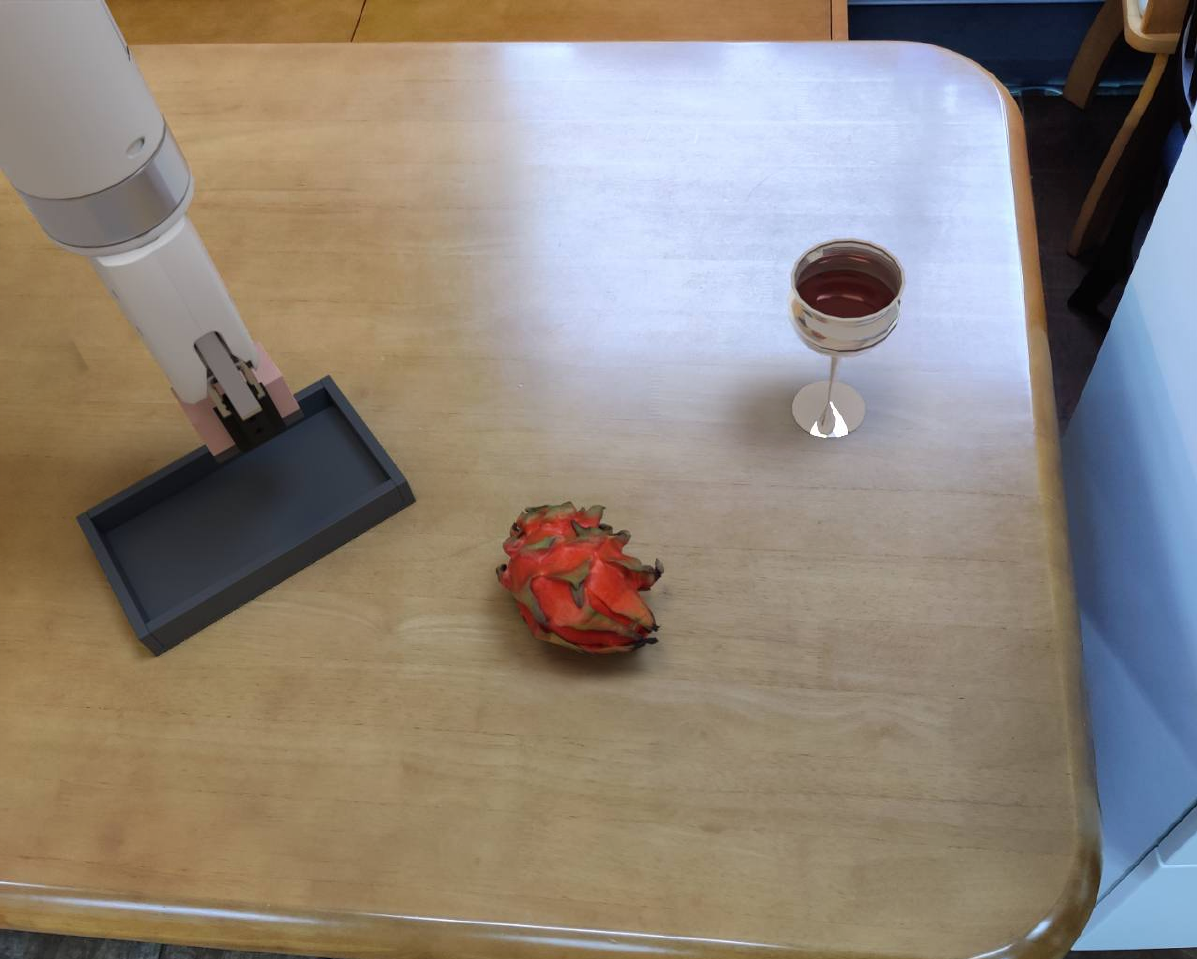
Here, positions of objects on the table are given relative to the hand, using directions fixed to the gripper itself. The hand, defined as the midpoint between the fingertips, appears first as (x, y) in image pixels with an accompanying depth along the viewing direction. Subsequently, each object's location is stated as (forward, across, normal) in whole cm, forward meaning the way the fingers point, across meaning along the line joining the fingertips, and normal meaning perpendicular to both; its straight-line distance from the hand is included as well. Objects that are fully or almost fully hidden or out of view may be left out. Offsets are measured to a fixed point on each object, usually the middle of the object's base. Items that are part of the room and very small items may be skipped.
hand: (247, 415), depth 66 cm
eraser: (+1, 0, 0) cm, 1 cm away
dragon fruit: (+8, +20, +11) cm, 25 cm away
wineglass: (+8, +17, +33) cm, 38 cm away
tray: (+8, 0, -3) cm, 9 cm away
